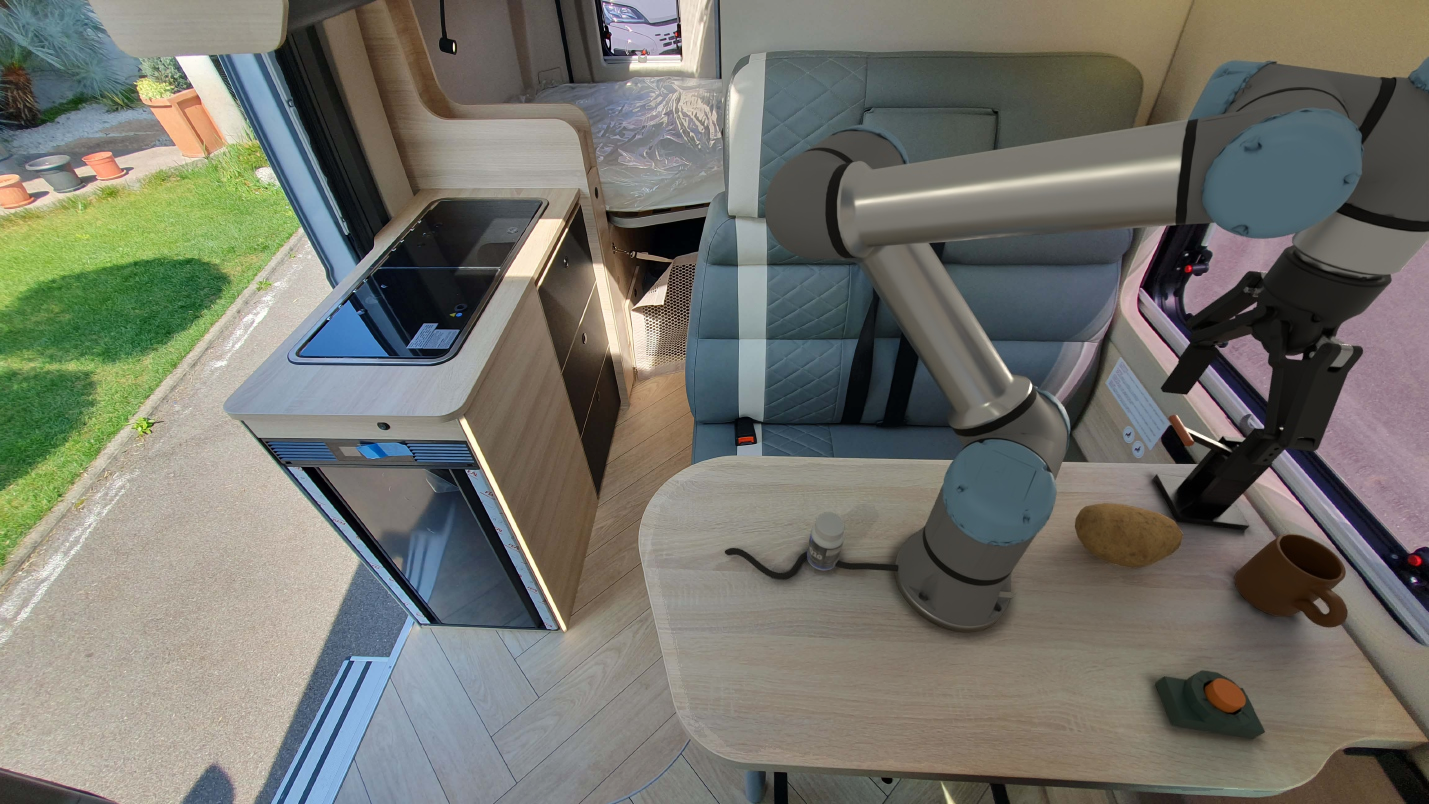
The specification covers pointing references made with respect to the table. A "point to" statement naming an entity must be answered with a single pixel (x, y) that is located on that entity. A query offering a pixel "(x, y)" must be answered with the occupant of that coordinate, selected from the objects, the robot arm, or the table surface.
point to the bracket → (1207, 492)
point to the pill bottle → (826, 541)
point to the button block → (1205, 707)
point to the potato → (1127, 534)
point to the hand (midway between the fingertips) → (1199, 431)
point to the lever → (1199, 438)
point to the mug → (1294, 580)
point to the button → (1225, 695)
